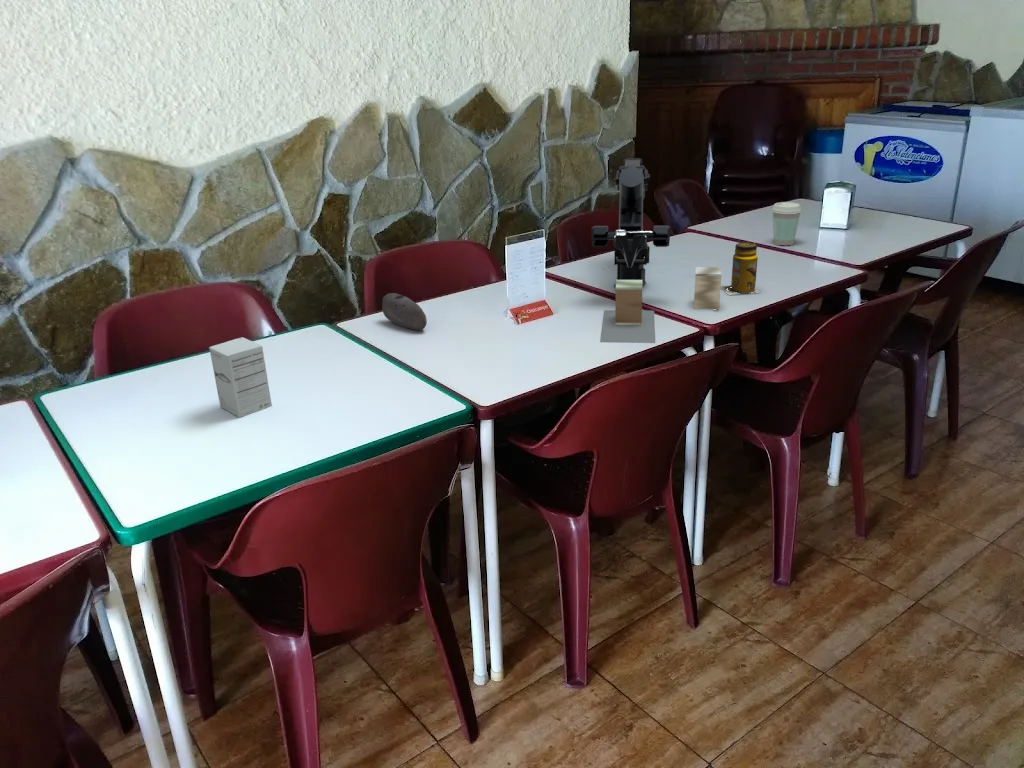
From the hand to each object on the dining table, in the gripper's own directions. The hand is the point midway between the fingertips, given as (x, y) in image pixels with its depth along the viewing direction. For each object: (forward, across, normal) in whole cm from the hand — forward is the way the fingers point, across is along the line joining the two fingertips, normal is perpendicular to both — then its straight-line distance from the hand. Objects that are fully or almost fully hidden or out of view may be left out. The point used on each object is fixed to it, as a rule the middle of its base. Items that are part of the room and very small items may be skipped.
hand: (629, 267), depth 203 cm
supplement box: (+50, +72, +34) cm, 94 cm away
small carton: (+14, 0, -1) cm, 14 cm away
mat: (+16, 0, +1) cm, 16 cm away
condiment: (-4, -28, -20) cm, 35 cm away
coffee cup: (-38, -46, -54) cm, 80 cm away
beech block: (+5, -19, -10) cm, 22 cm away
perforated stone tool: (+17, +52, +1) cm, 55 cm away
